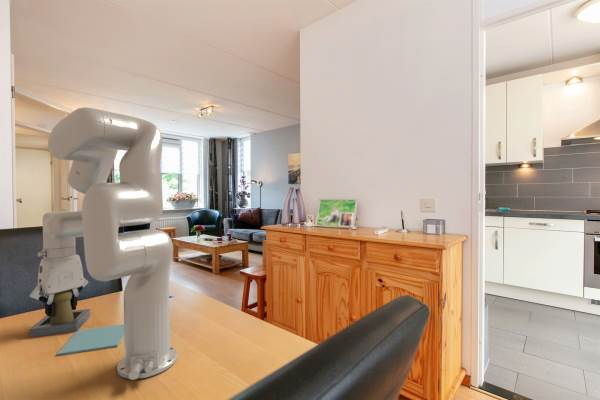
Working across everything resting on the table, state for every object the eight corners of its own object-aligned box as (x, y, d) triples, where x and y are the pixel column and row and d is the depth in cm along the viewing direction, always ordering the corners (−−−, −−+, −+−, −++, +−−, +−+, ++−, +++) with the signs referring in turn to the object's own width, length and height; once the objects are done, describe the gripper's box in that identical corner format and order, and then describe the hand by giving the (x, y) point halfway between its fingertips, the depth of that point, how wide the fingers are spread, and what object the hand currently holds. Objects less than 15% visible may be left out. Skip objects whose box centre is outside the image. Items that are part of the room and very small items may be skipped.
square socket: (76, 331, 86) (76, 323, 86) (29, 337, 82) (29, 329, 82) (90, 316, 96) (89, 308, 96) (48, 321, 93) (48, 313, 92)
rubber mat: (117, 346, 77) (117, 344, 77) (57, 355, 73) (57, 353, 73) (128, 325, 89) (128, 323, 89) (77, 332, 85) (77, 330, 85)
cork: (60, 332, 86) (59, 294, 85) (43, 330, 87) (42, 293, 86) (79, 322, 91) (78, 287, 91) (63, 321, 93) (62, 286, 92)
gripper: (30, 260, 79) (32, 326, 80) (97, 248, 94) (98, 304, 95) (17, 257, 82) (19, 321, 83) (84, 246, 98) (85, 301, 98)
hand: (61, 311), depth 89 cm, fingers closed on cork, 4 cm apart
